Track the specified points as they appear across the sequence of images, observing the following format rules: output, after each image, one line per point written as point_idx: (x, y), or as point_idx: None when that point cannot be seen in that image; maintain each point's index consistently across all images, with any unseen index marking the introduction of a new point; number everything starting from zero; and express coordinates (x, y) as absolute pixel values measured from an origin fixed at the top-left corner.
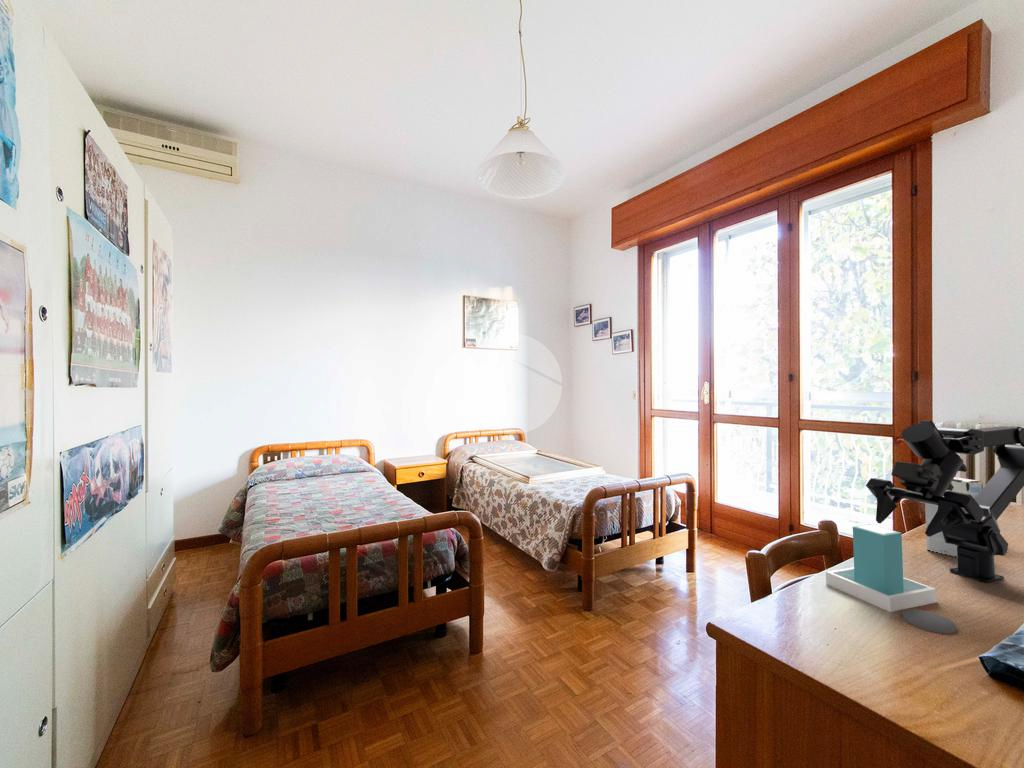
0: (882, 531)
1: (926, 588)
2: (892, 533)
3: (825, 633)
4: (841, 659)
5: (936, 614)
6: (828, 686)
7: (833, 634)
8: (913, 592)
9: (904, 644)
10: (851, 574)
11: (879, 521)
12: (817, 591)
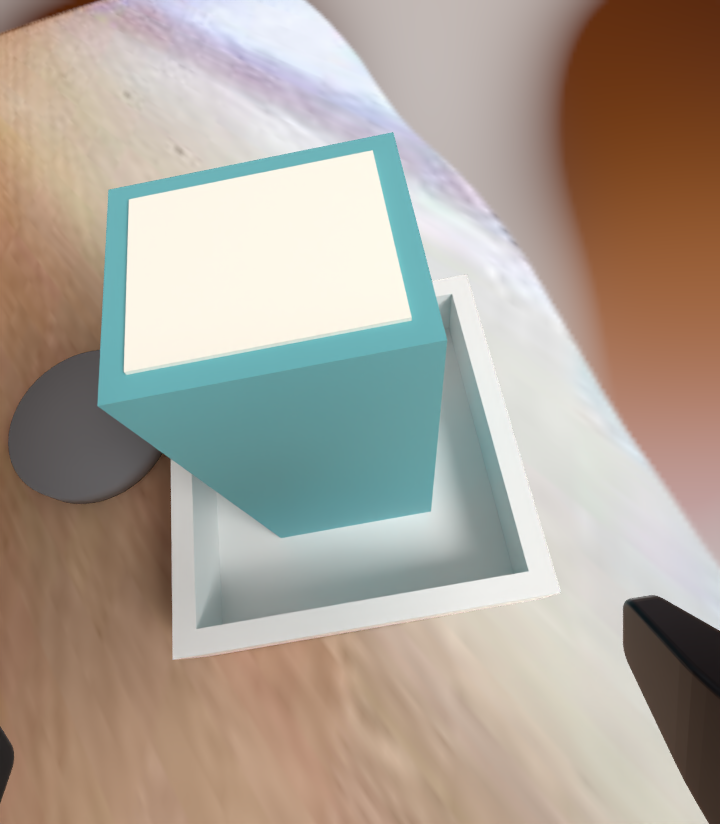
0: (184, 252)
1: (190, 602)
2: (115, 300)
3: (167, 116)
4: (72, 88)
5: (96, 487)
6: (23, 26)
7: (157, 130)
8: (177, 483)
9: (55, 256)
10: (482, 427)
11: (629, 638)
12: None
